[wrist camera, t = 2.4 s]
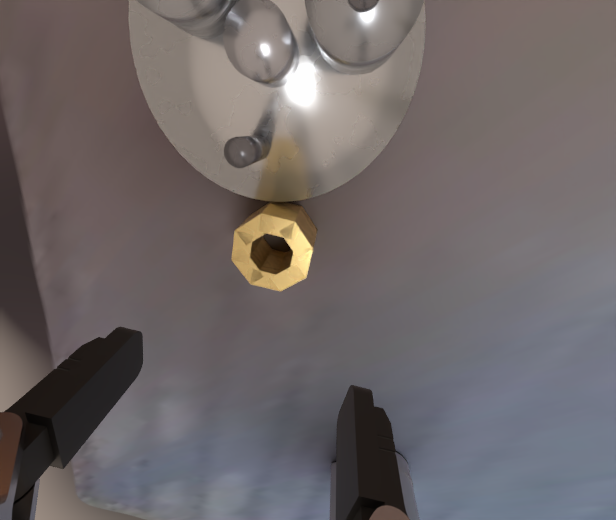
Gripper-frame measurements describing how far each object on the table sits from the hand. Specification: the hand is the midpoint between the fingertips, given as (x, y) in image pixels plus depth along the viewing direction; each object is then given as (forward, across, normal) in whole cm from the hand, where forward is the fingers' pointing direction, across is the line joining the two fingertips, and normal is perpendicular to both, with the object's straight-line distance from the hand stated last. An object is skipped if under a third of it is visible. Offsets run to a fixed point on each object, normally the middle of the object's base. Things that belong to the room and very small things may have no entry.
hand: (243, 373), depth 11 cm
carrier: (+17, +4, -12) cm, 21 cm away
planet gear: (+17, +1, +1) cm, 17 cm away
